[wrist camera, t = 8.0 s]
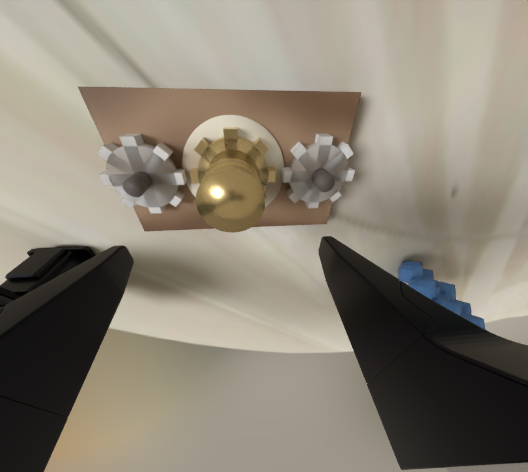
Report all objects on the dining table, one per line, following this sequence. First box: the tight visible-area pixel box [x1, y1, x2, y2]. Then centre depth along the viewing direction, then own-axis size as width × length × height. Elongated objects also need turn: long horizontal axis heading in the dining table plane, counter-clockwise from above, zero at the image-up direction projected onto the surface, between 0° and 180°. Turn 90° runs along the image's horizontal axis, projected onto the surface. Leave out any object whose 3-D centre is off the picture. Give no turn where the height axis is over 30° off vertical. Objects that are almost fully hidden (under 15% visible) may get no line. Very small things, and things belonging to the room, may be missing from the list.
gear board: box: [78, 87, 361, 231], centre depth 16 cm, size 12×21×4 cm, turn 89°
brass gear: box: [190, 127, 276, 232], centre depth 14 cm, size 7×7×6 cm
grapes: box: [398, 261, 485, 329], centre depth 25 cm, size 12×7×12 cm, turn 57°
